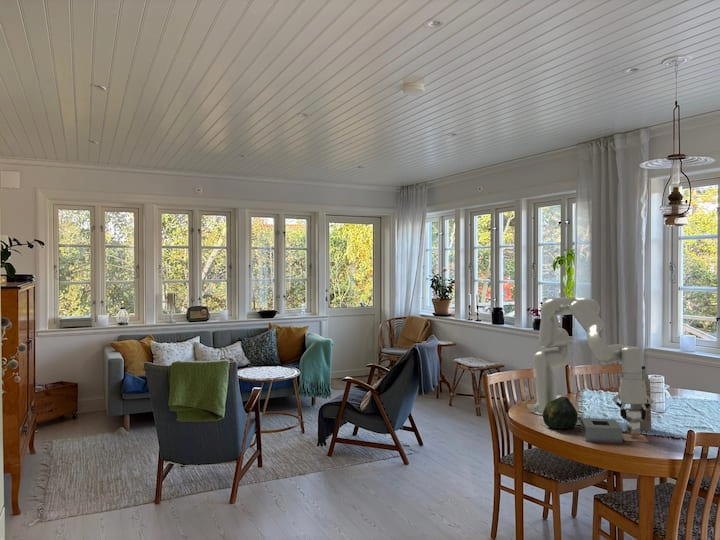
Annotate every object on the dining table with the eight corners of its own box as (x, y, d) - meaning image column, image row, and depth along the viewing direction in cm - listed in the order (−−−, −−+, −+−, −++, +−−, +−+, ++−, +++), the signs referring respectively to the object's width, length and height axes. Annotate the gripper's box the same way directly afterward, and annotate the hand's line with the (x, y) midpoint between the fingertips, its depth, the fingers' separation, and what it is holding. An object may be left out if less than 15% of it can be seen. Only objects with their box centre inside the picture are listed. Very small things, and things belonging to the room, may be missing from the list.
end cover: (626, 436, 222) (625, 411, 222) (622, 431, 228) (622, 407, 228) (644, 437, 220) (643, 411, 220) (640, 432, 227) (639, 407, 227)
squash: (532, 412, 248) (547, 392, 239) (557, 409, 254) (573, 390, 245) (547, 438, 238) (564, 419, 229) (574, 435, 244) (590, 416, 235)
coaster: (624, 440, 221) (624, 440, 221) (619, 434, 230) (619, 433, 230) (648, 442, 219) (648, 441, 219) (642, 435, 227) (642, 434, 227)
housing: (585, 441, 221) (585, 426, 222) (580, 431, 235) (580, 417, 235) (622, 443, 218) (622, 428, 218) (615, 433, 231) (615, 419, 231)
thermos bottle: (655, 430, 233) (653, 367, 233) (640, 432, 231) (638, 368, 231) (641, 425, 241) (639, 364, 241) (627, 427, 239) (625, 365, 239)
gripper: (611, 377, 223) (612, 420, 223) (657, 378, 218) (658, 422, 218) (607, 373, 230) (609, 415, 230) (652, 374, 226) (653, 417, 226)
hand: (633, 418), depth 224 cm, fingers closed on end cover, 6 cm apart
